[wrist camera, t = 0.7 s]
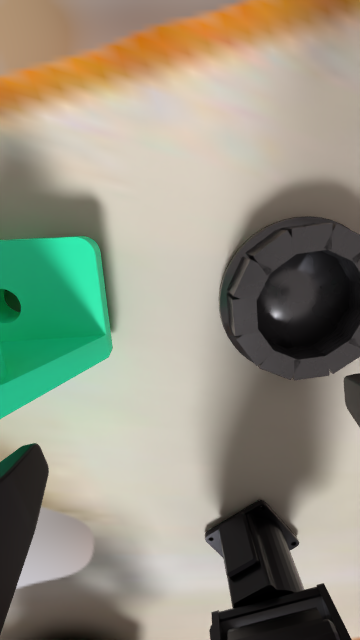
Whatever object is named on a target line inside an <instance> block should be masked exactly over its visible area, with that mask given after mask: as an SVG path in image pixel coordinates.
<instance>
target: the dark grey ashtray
mask: <svg viewBox="0 0 360 640" xmlns="http://www.w3.org/2000/svg"><path fill="white" fill-rule="evenodd" d="M219 311H220V317H221V321H222V324H223V327H224V329H225V331H226V333H227V336H228V337H229V339H230V340H231V342H232V344H233V345H234V346H235V347H236V349H237V350H238V351H239V352H240V353H241V354H242V355H243V356H245V357H246V358H247V359H249V360H250V361H252V362H253V363H255V365H256V366H257V365H258V367H259V368H260V369H263V370H266V371H268V372H271V373H274V374H276V375H279V376H282V377H284V378H287V379H290V380H291V378H293V379H294V380H300V379H307V378H314V377H322V376H329V371H330V372H331V373H332V374H334V373H335V372H337V371H338V370H340V369H342V368H343V367H345V366H346V365H348V364H349V363H351V362H352V361H354V360H355V359H357V358H359V357H360V235H359V234H357V233H355V232H353V231H351V230H350V229H349V228H347V227H345V226H343V225H342V224H340V223H337V222H335V221H332V220H329V219H324V218H320V217H295V218H290V219H285V220H282V221H279V222H276V223H273V224H271V225H269V226H267V227H265V228H263V229H261V230H260V231H258V232H257V233H255V234H254V235H253V236H252V237H250V238H249V239H248V240H247V241H246V242H245V243H244V244H243V245H242V246H241V247H240V248H239V249H238V250H237V252H236V253H235V255H234V256H233V258H232V259H231V261H230V263H229V265H228V266H227V268H226V271H225V273H224V276H223V278H222V282H221V287H220V293H219Z"/></svg>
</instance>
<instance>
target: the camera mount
mask: <svg viewBox="0 0 360 640" xmlns="http://www.w3.org/2000/svg"><path fill="white" fill-rule="evenodd" d="M5 290H8V291H10V292H12V293H13V294H14V295H15V296H16V297H17V298H18V300H19V302H20V305H21V312H17V311H15V310H13V309H11V308H10V307H9V306H8V305H7V303H6V301H5V299H4V291H5ZM112 348H113V347H112V339H111V331H110V323H109V315H108V307H107V299H106V292H105V284H104V276H103V268H102V260H101V252H100V249H99V246H98V245H97V243H96V242H95V241H94V240H92V239H91V238H89V237H85V236H73V237H55V238H29V239H10V240H0V419H1V418H3V417H5V416H6V415H8V414H10V413H12V412H13V411H15V410H17V409H19V408H20V407H22V406H24V405H26V404H27V403H29V402H31V401H33V400H34V399H36V398H38V397H40V396H41V395H43V394H45V393H47V392H48V391H50V390H52V389H54V388H55V387H57V386H59V385H61V384H62V383H64V382H66V381H68V380H69V379H71V378H73V377H75V376H76V375H78V374H80V373H82V372H83V371H85V370H87V369H89V368H91V367H92V366H94V365H96V364H98V363H99V362H101V361H103V360H105V359H106V358H108V357H109V355H110V353H111V351H112Z"/></svg>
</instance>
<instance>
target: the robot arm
mask: <svg viewBox="0 0 360 640" xmlns="http://www.w3.org/2000/svg"><path fill="white" fill-rule="evenodd" d="M344 392H345V403H346V406H347V409H348V410H349V412H350V413H351V415H352V416H353V418H354V419H355V421H356V423H357V424H358V426H359V427H360V373H358V374H353V375H349V376H346V377H345V378H344ZM48 473H49V468H48V464H47V462H46V459H45V457H44V455H43V452H42V450H41V448H40V446H39V445H38V444H36V443H34V444H29V445H24V446H22V447H20V448H19V449H18V450H16V451H15V452H13V453H12V454H11V455H9V456H8V457H7V458H5V459H4V460H3V461H1V462H0V634H1V631H2V628H3V625H4V622H5V619H6V616H7V613H8V610H9V607H10V604H11V601H12V598H13V595H14V592H15V589H16V586H17V583H18V580H19V577H20V574H21V571H22V568H23V565H24V562H25V559H26V556H27V553H28V550H29V547H30V544H31V541H32V538H33V535H34V531H35V528H36V524H37V521H38V517H39V513H40V508H41V504H42V500H43V495H44V491H45V487H46V482H47V478H48ZM261 506H262V507H261ZM205 540H206V542H207V543H208V544H209V545H210V546H211V547H212V548H214V549H215V550H216V551H217V552H218V553H219V554H220V555H221V556H222V557H223V558H224V563H225V569H226V575H227V578H228V584H229V590H230V596H231V601H232V607H233V608H232V609H229V610H225V611H221V612H219V610H218V611H214V612H212V625H211V629H210V639H211V640H351V638H350V636H349V634H348V631H347V629H346V627H345V625H344V623H343V621H342V619H341V617H340V615H339V613H338V611H337V609H336V607H335V605H334V603H333V601H332V599H331V597H330V595H329V593H328V591H327V589H326V587H325V585H324V583H323V584H319V585H317V587H314V588H310V589H306V590H304V587H303V585H302V582H301V579H300V577H299V574H298V571H297V569H296V566H295V563H294V561H293V558H292V556H291V553H290V550H292V549H293V548H295V547H297V546H298V545H299V541H298V539H297V537H296V536H295V535H294V534H293V532H292V531H291V530H290V529H289V528H288V527H287V526H286V525H285V524H284V522H283V521H282V520H281V519H280V518H279V517H278V516H277V515H276V513H275V512H274V511H273V510H272V509H271V508H270V507H269V506H268V505H267V503H266V502H265V501H262V500H260V501H257V502H256V503H254V504H252V505H251V506H249V507H247V508H246V509H244V510H242V511H241V512H239V513H237V514H236V515H234V516H232V517H231V518H229V519H227V520H226V521H224V522H222V523H221V524H219V525H217V526H216V527H214V528H212V529H211V530H209V531H207V532H206V533H205Z"/></svg>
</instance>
